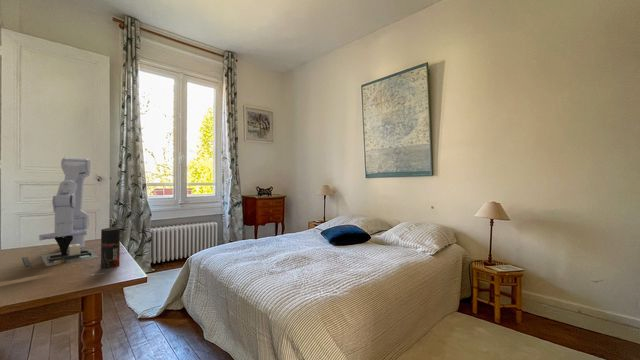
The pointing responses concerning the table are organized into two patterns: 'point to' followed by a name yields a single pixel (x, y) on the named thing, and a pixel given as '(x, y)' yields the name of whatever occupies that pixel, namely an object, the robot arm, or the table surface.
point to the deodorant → (110, 248)
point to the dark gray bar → (26, 261)
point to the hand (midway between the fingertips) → (63, 254)
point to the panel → (67, 257)
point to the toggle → (74, 249)
